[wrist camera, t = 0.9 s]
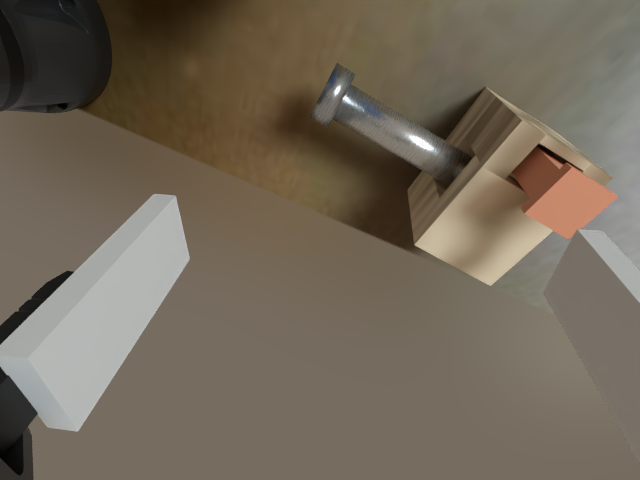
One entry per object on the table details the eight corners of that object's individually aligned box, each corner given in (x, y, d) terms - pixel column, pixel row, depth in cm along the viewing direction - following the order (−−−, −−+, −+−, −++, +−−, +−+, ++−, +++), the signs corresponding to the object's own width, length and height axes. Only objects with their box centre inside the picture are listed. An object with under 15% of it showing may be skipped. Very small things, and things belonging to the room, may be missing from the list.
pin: (314, 109, 32) (305, 124, 29) (340, 59, 30) (333, 68, 26) (458, 192, 35) (467, 216, 31) (493, 152, 32) (507, 173, 28)
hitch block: (407, 190, 39) (414, 245, 31) (485, 87, 33) (522, 120, 24) (467, 224, 41) (490, 285, 32) (554, 131, 34) (613, 177, 25)
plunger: (493, 165, 29) (524, 213, 23) (527, 127, 27) (571, 167, 21) (528, 186, 30) (568, 239, 24) (564, 150, 28) (618, 197, 22)
